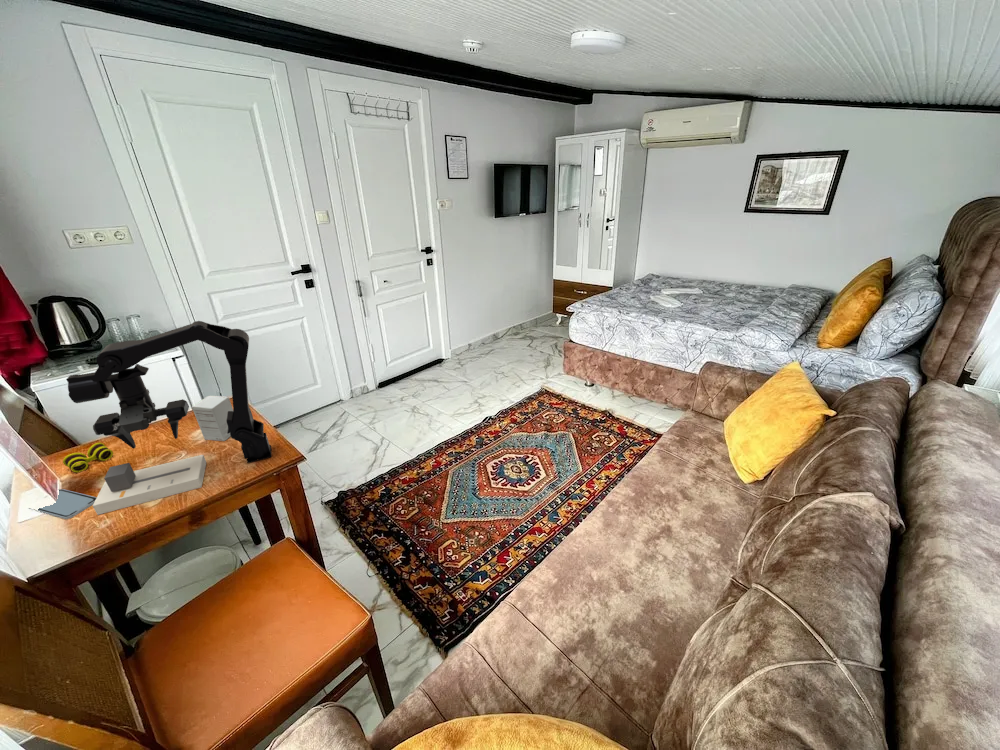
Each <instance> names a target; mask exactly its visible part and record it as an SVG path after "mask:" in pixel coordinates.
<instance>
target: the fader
mask: <svg viewBox="0 0 1000 750" xmlns="http://www.w3.org/2000/svg"><path fill="white" fill-rule="evenodd" d="M134 471H135V470H134V469H133V467H132V465H131V463H130V462H126V463H123V464H118V465H114V466H110V467H109V468H108V469H107V472H106V474H105V476H104V478H103V479H104V482H105V481H106V483H107V485H108V486H109V488H110V490H111V492H114V491H118V490H122V489H126V488H130V487H131V486H132V484H133V482H134V479H135V477H136V475H135V473H134Z"/></svg>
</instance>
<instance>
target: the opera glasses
mask: <svg viewBox="0 0 1000 750" xmlns="http://www.w3.org/2000/svg"><path fill="white" fill-rule="evenodd" d="M113 456H114V452H113V450H111V449H109V447H108V446H106V445H105V444H104V443H103V442H95V443H94V444H92V445H91V446H90V447H88V450H87V454H85V453H83V452H73V453H70V454H67V455H66V456H64V458H63V459H62V464H63V465H64V466H65V467H67V468H69V469H70V470H71V471H72V472H74V473H80V472H83V471H86V470H87V469H88V467H89V463H90V462H92V461H96V460H100V461H103V462H104V461H107V460H108V461H109V460H110V459H111V458H112V457H113Z"/></svg>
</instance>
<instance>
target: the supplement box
mask: <svg viewBox="0 0 1000 750" xmlns="http://www.w3.org/2000/svg"><path fill="white" fill-rule="evenodd" d="M191 409H192V411H193V414H194V416H195V419H196V421H197V423H198V427H199V429H200V431H201V434H202V436H203V438H204V440H207V441H208V440H209V441H219V442H225V441H226V440H227V439H228V440H229V438H231V435H230V433H229V434H227V431H228V425H227V413H228V411H233V404H232V403H231V399H230V397H229V396H223V395H222V396H220V395H207V396H205V397H204V398H203V399H202V400H200V401H199V402H196V403H195V404H194V405H192V406H191Z"/></svg>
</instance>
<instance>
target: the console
mask: <svg viewBox="0 0 1000 750" xmlns="http://www.w3.org/2000/svg"><path fill="white" fill-rule="evenodd" d="M206 467H207V461H206V458H205V455H204V454H200V455H199V454H198V455H195V456H191V457H187V458H182V459H179V460H174V461H170V462H166V463H162V464H157V465H154V466H150V467H145V468H144V467H143V468H140V469H136V470H133V471H134V473H135V475H136V477H135V479H134V482H133V484H132V486H131V487H130V488H126V489H122V490H118V491H114V492H111V490H110V488H109V486H108V485H107V483H106V481H105V480H104V483H103V485H102V486H101V489H100V490H99V492H98V495H97V498H96V500H95V502H94V504H93V505H92V508H93V509H94V511H95V513H96V514H97V516H98V515H102V514H106V513H110V512H113V511H116V510H122V509H125V508H128V507H132V506H137V505H140V504H144V503H148V502H152V501H155V500H158V499H163V498H166V497H170V496H173V495H178V494H181V493H184V492H188V491H193V490H197V489H201V488H202V487H203V482H204V479H205V478H204V476H205V471H206Z"/></svg>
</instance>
